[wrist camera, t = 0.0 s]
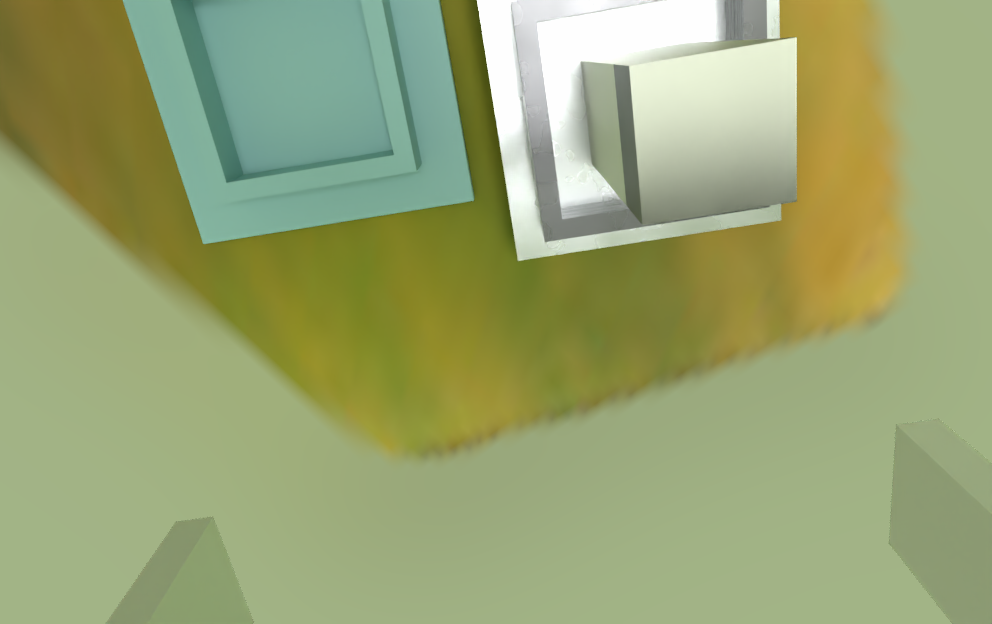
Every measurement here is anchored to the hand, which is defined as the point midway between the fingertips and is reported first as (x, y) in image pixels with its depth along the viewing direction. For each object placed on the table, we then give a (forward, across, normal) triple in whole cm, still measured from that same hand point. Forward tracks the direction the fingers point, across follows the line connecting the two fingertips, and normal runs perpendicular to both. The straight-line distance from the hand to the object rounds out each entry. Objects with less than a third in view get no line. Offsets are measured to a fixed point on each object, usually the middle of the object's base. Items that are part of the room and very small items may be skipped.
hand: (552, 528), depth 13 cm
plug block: (+24, +7, +5) cm, 25 cm away
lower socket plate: (+28, -10, +9) cm, 31 cm away
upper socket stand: (+28, +7, +5) cm, 29 cm away
